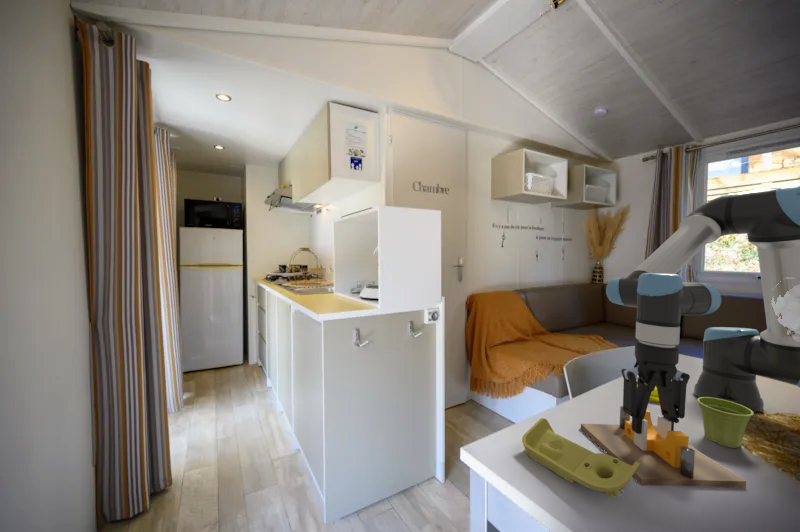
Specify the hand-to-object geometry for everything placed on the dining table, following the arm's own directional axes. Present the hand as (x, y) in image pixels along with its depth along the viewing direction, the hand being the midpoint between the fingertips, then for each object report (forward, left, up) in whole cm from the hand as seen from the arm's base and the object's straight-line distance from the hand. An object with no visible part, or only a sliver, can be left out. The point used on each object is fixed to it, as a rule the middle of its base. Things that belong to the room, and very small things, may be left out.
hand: (651, 447), depth 70 cm
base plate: (0, 0, -1) cm, 1 cm away
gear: (-24, -30, -2) cm, 38 cm away
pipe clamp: (0, 0, 0) cm, 1 cm away
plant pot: (-22, -6, -2) cm, 23 cm away
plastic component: (+21, +7, -2) cm, 22 cm away
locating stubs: (0, 0, 0) cm, 0 cm away
